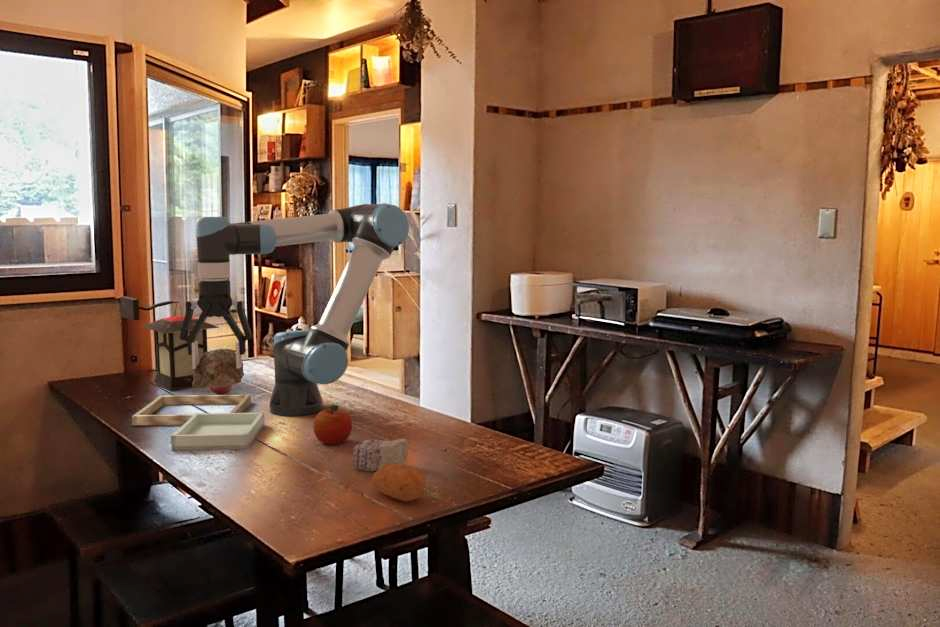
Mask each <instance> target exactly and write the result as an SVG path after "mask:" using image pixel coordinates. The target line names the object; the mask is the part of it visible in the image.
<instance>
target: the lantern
mask: <svg viewBox="0 0 940 627" xmlns="http://www.w3.org/2000/svg"><path fill="white" fill-rule="evenodd" d="M119 299H120V300H119V301H120V315H121V317H122V318H124V319H125V318H126V319H128V320H132V321H140V319H141V318H140V310H142V311H148V312H149V311H152V310H154V309H156V308H158V307H164V306H167V305H172V304H175V308H177V305H178V304H179V308H180V309H179V310H182V307H181V303H180V301H179V300H178V301H172V300H166V301H162V302H158V303H155V304H152V305H151V306H148V307H143V306H140V304H139V300H140V299H138V298H133V297H131V296H120V298H119ZM176 310H177V309H175V311H174V312H175V313H174V316H169V317H164V318H163V317H162V318H160V319H157V320H155V321H152V322H149V323H147V324H145V325H141V328H144V329H148V330H151V331H154V335H155V337H154V339H155V356H156V360H155V361H156V374H155V378H154V382H153V383H154V384H155V385H156V386H159V387H162V388H164V389H166V390H167V391H170V392H173V391H174V392H175V391H180V390H181V391H182V390H188V389H194V388H193V386H192V382H193V380H194V379H193V373H194V370H195V369H193V366H192V355H189V354H188V343H187V342H186V341H184V340H180V338H179V337H180V333H181V329H182V325H183V322H184V318H185V315H183V314H182V313H183V311H180V314H181V315H176V314H177V313H176V312H177V311H176ZM198 319H199V318H195V317H192V320H191V324H190V328H189V331H188V336H189V335H190V333H191V331H192V330H193V328H194V326H195V324H196V322H197V321H198ZM219 328H220V326H217V325H214V324H211V323H210V322H207V321H205V322H204V323H203V325H202V327H201V329H200V331H199V332H198V334H197V336H196V338H195V340H194V341H198V362H199V361H200V358H201V356H202V354H204V353H205V352H208V351H209V350H208V333H207V332H208V331H207V330H208V329H209V330H210V329H211V330H213V329H219Z"/></svg>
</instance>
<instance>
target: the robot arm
mask: <svg viewBox="0 0 940 627" xmlns="http://www.w3.org/2000/svg"><path fill="white" fill-rule="evenodd" d="M408 220H409V219H408V216H407V214H406V213H405V212H404V210H403V209H402V208H400V207H399V206H397V205H395V204H389V203H385V202H383V203H377V204H376V203H362V204H358V205H353V206H349V207H343V208H338V209H331V210H329V212H328V213H324V214H313V215H304V216H295V217H284V218H282V217H281V218H273V219H272V218H271V219H264V220H253V221H245V222H235V223H234V222H233V223H231V222H229V219H228V217H226V216H200V217H198V218H197V220H196V226H195V228H196V229H195V230H196V231H195V237H196V252H197V278H198V279H200V280H199V281H198V299H197V300H188V301H186V302H185V311H186V312H185V315H184V316H185V318H184V322H183V325H182V329H181V333H180V337H179V338H180V340H184V341H186V342H187V343H188V354H189V355H192V366H193V369H196V368H197V366H198V365H199V362H198V341H194V340H195V338H196V336H197V334H198V332H199V331H200V329H201V327H202V325H203V323H204V322H206V320H207V319H208V318H213V317H215V318H216V317H218V318H223V319H224V321H226V323H227V325H228V326H229V328H230V329H231V331H232V333H233V335H234V336H235V337H236V339H237V341H236V342H235V353H236V368H241V367H242V362H243V358H242V357H243V355H245V354H246V351H247V350H246V341H249V340H251V339H252V338H253V332H252V330H251V327H250V324H249V320H248V318H247V314H246V311H245V301H244V300H242V299H241V300H233V299H232V296H231V294H232V293H231V291H232V290H231V281H230V278H231V270H230V265H231V264H230V260H231V259H230V256H231V255H232V256H234V255H263V254H264V255H266V254H271V253H272V252H274V250H275V248H276V247H283V246H285V247H286V246H290V245H291V246H292V245H300V244H309V243H317V242H326V241H332V242H333V243H335V244H337V243H338V244H339V243H353V247H354V248H353V249H352V252H351V254H350V256H349V258H348V260H347V262H346V264H345V266H344V269H343V271H342V272H341V275H340V278H339V280H338V281H337V283H336V285H335V287H334V290H333V292H332V294H331V297H330V299H329V300H328V302H327V305H326V306H325V309H324V310H323V313H322V315H321V317H320V319H319V321H318V322H317V324H315V325H312V326H310V327H309V329H302V330H301V329H300V330H290V331H289V330H288V331H280V332H277V333H275V335H274V336H273V356H274V357H273V362H274V364H273V365H274V387H273V390H272V393H271V397H270V400H269V412H270V413H271V414H274V415H277V416H278V415H279V416H286V417H287V416H289V417H291V416H307V415H311V414H315V413H319V412H321V411H323V410H324V409H323V408H324V401H323V397H322V395H321V392H320V388H319V386H318V384H319V385H330V384H333V383H335V382H336V381H338V380H339V379H340V378H342V377H343V376H344V374H345V372H346V371H347V368H348V365H349V358H348V354H347V350H348V348H349V346H350V342H349V340H348V339H349V338H348V335H349V333H350V330H351V329H352V326H353V324H354V322H355V320H356V318H357V316H358V313H359V312H360V310H361V306H362V304H363V302H364V300H365V298H366V296H367V295H368V292H369V290H370V287H371V286H372V283H373V281H374V279H375V277H376V275H377V272H378V271H379V269H380V266H381V264H382V263H383V261H384V260H386V259H390V257H391V255H392V253H393V251H394V249H395V247H398V246H400V245H402V244H403V243H405V241H406V240H407V238H408V235H409V230H410V223H409V221H408ZM197 306H198V307H199V309H200V310H201V313H200V315H199V317H198V318H197V319H198V321H197V322H196V324H195V326H194V328H193V330H192V331H191V333H190V335H189V336H188V331H189V328H190V324H191V320H192V318H193V316H194V311H195V309H197ZM232 306H233V307H234V309H235V310H236V312H237V315H238V318H239V321H240V324H241V328H242V330H241V328H240V327H239V325H238V324H237V322H236V321H235V319H234V317H233V315H232V313H231V312H230V309H231V307H232ZM242 331H243V332H242Z"/></svg>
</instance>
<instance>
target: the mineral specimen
mask: <svg viewBox="0 0 940 627" xmlns="http://www.w3.org/2000/svg"><path fill="white" fill-rule="evenodd" d="M408 452H409V443H408V439H406V438H397V439H394V440H391V441H390V440H380V439H373V438H372V439H369V438H368V439H365V440H363V441H361V442H360V443H358V444H356V445H355V446H354V447H353V453H352V463H353V465H354V468H355V469H357V470H360V471H364V472H374V471H375V472H376V471H377V470H378V469H380V468H381V467H383V466H385V465H389V464H402V465H405V463H406V462H407V459H408V454H409V453H408Z"/></svg>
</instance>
